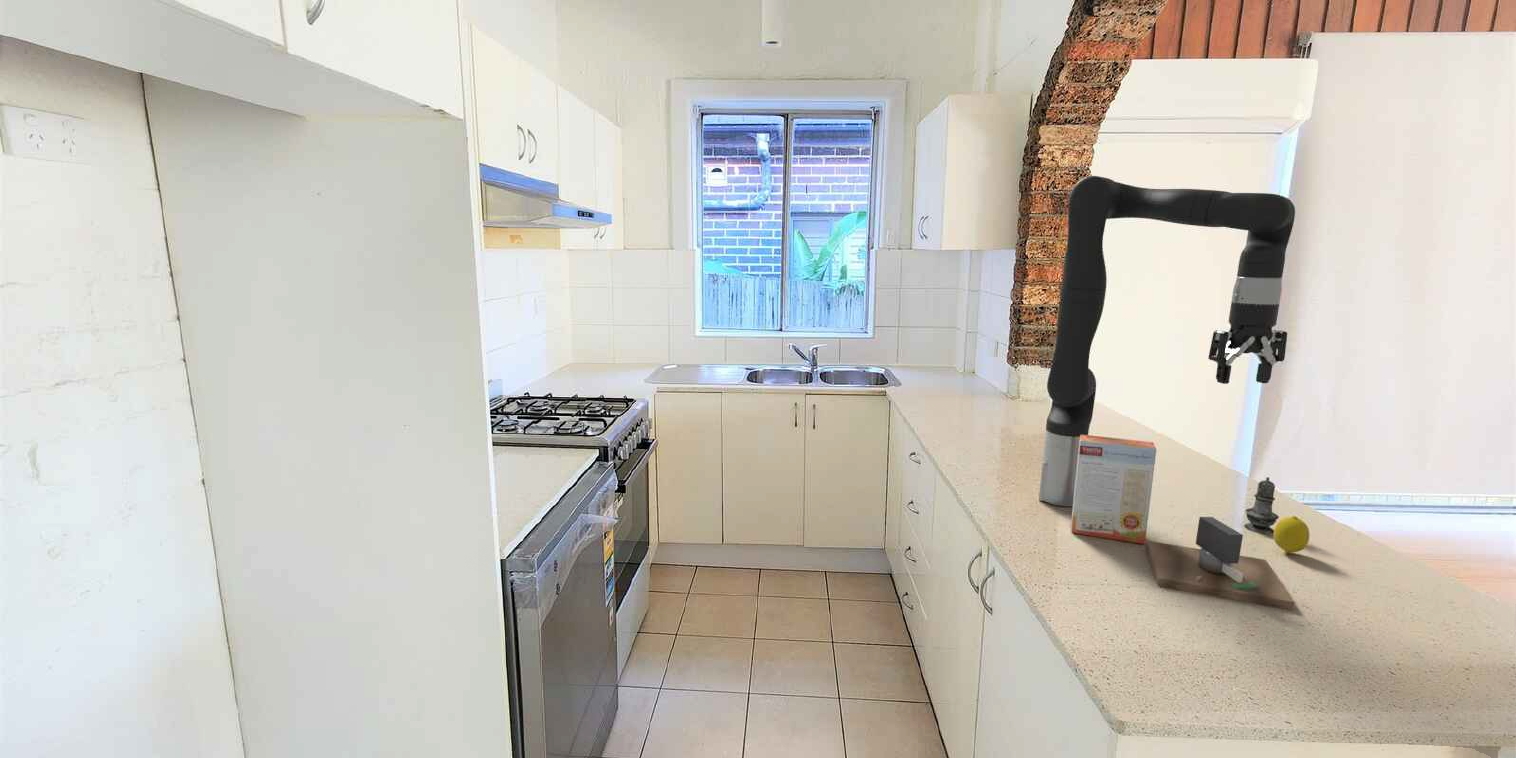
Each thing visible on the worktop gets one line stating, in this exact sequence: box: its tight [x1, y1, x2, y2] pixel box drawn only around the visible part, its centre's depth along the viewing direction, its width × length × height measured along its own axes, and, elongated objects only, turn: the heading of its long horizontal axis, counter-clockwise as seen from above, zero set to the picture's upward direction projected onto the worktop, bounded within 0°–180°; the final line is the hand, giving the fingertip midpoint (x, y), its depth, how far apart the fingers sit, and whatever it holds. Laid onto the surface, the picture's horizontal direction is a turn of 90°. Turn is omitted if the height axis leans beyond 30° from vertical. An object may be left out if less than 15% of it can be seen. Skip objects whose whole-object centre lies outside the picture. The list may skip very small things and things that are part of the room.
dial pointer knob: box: [1195, 516, 1244, 582], centre depth 121 cm, size 10×5×8 cm, turn 1°
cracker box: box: [1070, 434, 1157, 545], centre depth 140 cm, size 14×6×21 cm, turn 65°
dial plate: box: [1145, 540, 1295, 611], centre depth 124 cm, size 20×17×2 cm
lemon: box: [1273, 515, 1310, 555], centre depth 132 cm, size 6×6×8 cm
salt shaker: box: [1243, 476, 1279, 535], centre depth 144 cm, size 6×6×12 cm
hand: (1242, 382), depth 131 cm, fingers open, 8 cm apart
